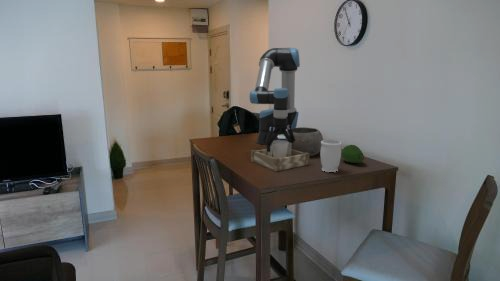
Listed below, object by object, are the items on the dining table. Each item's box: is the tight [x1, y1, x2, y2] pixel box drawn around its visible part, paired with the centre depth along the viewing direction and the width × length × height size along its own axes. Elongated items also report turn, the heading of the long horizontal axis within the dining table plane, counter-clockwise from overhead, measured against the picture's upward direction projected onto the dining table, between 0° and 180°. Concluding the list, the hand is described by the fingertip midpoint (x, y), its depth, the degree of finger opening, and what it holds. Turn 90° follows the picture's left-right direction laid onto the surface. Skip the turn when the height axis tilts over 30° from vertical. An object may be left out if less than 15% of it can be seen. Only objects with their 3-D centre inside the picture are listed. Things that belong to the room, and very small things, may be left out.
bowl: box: [284, 127, 324, 158], centre depth 210 cm, size 23×23×15 cm
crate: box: [250, 148, 310, 172], centre depth 189 cm, size 23×23×6 cm
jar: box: [319, 139, 343, 173], centre depth 175 cm, size 11×10×15 cm
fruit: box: [341, 144, 365, 164], centre depth 190 cm, size 15×10×10 cm, turn 15°
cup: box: [271, 139, 289, 158], centre depth 189 cm, size 10×10×11 cm
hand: (279, 155), depth 189 cm, fingers open, 13 cm apart
